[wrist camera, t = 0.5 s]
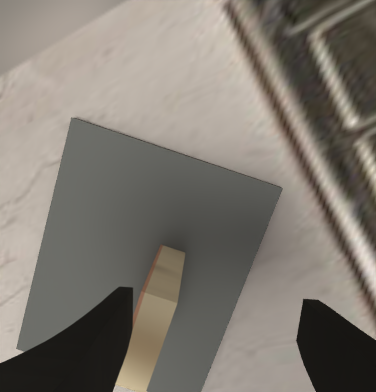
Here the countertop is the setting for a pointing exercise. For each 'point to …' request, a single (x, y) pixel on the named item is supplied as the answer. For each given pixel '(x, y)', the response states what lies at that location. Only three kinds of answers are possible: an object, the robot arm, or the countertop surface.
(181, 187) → the mat
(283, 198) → the countertop surface
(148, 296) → the tile
